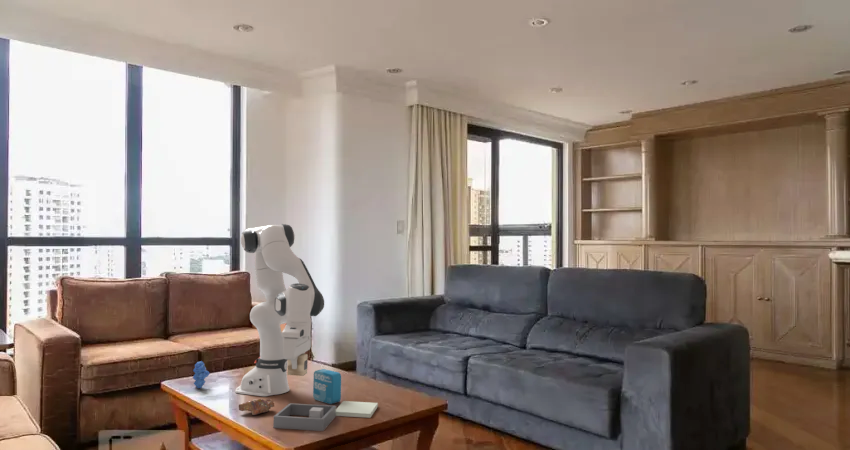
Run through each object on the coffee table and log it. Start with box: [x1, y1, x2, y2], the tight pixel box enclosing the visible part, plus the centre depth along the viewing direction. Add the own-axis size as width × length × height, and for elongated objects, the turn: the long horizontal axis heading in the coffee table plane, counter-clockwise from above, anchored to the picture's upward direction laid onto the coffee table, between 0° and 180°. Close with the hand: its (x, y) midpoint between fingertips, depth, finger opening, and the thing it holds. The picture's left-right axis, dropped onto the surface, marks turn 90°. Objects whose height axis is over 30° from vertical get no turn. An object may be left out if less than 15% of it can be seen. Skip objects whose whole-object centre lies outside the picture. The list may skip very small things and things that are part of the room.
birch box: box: [287, 353, 309, 377], centre depth 212 cm, size 6×4×7 cm, turn 83°
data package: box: [312, 368, 342, 405], centre depth 238 cm, size 12×4×12 cm, turn 51°
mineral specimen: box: [238, 398, 275, 416], centre depth 220 cm, size 12×8×7 cm
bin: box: [272, 402, 337, 432], centre depth 211 cm, size 18×16×4 cm
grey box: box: [308, 407, 324, 418], centre depth 211 cm, size 4×4×5 cm
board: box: [336, 400, 379, 419], centre depth 225 cm, size 14×14×2 cm
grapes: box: [192, 360, 211, 389], centre depth 253 cm, size 12×7×12 cm, turn 37°
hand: (297, 366), depth 212 cm, fingers closed on birch box, 4 cm apart
